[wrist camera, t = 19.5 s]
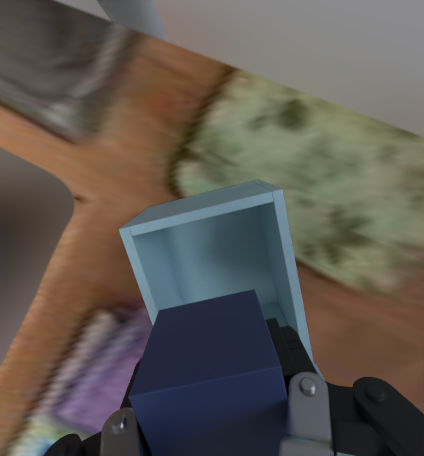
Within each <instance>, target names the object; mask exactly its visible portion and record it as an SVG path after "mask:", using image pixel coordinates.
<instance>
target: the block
mask: <svg viewBox="0 0 424 456" xmlns="http://www.w3.org/2000/svg"><path fill="white" fill-rule="evenodd" d="M128 398H129V400H130V403H131V405H132V408H133V410H134V413H135V415H136V418H137V420H138V422H139V425H140V427H141V430H142V432H143V435H144V437H145V439H146V442H147V444H148V447H149V449H150V452H151V454H152V456H279V448H280V440H281V436H282V434H285V431H286V419H287V407H288V397H287V392H286V388H285V383H284V378H283V374H282V369H281V365H280V362H279V359H278V356H277V353H276V350H275V347H274V344H273V341H272V338H271V335H270V332H269V329H268V327H267V324H266V321H265V318H264V315H263V312H262V309H261V306H260V303H259V300H258V297H257V294H256V291H255V289H252V290H248V291H243V292H239V293H234V294H230V295H225V296H221V297H216V298H212V299H207V300H203V301H198V302H194V303H189V304H185V305H180V306H176V307H171V308H167V309H162V310H159V311H158V314H157V317H156V320H155V323H154V326H153V328H152V331H151V334H150V337H149V340H148V342H147V345H146V348H145V351H144V354H143V357H142V359H141V362H140V365H139V368H138V371H137V374H136V376H135V379H134V382H133V385H132V388H131V391H130V393H129V396H128Z"/></svg>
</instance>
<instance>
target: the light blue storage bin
mask: <svg viewBox="0 0 424 456" xmlns="http://www.w3.org/2000/svg"><path fill="white" fill-rule="evenodd" d="M119 232H120V235H121V238H122V240H123V243H124V246H125V249H126V252H127V255H128V257H129V260H130V263H131V266H132V269H133V271H134V274H135V277H136V280H137V283H138V286H139V288H140V291H141V294H142V297H143V300H144V302H145V305H146V308H147V311H148V314H149V317H150V319H151V322H152V325H153V326H154V323H155V320H156V317H157V314H158V311H159V310H162V309H167V308H171V307H176V306H180V305H185V304H189V303H194V302H198V301H203V300H207V299H212V298H216V297H221V296H225V295H230V294H234V293H239V292H243V291H248V290H252V289H255V291H256V294H257V297H258V300H259V303H260V306H261V309H262V312H263V315H264V318H265V319H270V318H275V317H276V319H277V321H278V324H279V326H280V327H284V326H290V327H292V328H293V329H294V330H295V331H297V333H298V335H299V337H300V340H301V341H302V343H303V345H304V347H305V349H306V351H307V353H308V355H309V357H310V359H311V361H312V362H313V357H312V352H311V346H310V341H309V335H308V330H307V324H306V318H305V313H304V307H303V302H302V296H301V290H300V285H299V279H298V274H297V268H296V262H295V257H294V251H293V246H292V240H291V234H290V229H289V223H288V218H287V212H286V207H285V201H284V195H283V190H282V189H281V188H279V187H276V186H274V185H271V184H269V183H266V182H264V181H261V180H254V181H250V182H246V183H242V184H238V185H234V186H230V187H226V188H222V189H218V190H214V191H210V192H206V193H202V194H198V195H194V196H190V197H186V198H182V199H178V200H174V201H170V202H166V203H162V204H158V205H154V206H150V207H148V208H147V209H146V210H144V211H143V212H142V213H140V214H139V215H137V216H136V217H135V218H133V219H132V220H131V221H129V222H128V223H127V224H125V225H124V226H122V227H121V228H120V229H119Z"/></svg>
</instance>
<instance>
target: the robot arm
mask: <svg viewBox="0 0 424 456" xmlns="http://www.w3.org/2000/svg"><path fill="white" fill-rule="evenodd" d="M265 321H266V324H267V327H268V329H269V332H270V335H271V338H272V341H273V344H274V347H275V350H276V353H277V356H278V359H279V362H280V365H281V369H282V374H283V378H284V383H285V388H286V392H287V397H288V407H287V419H286V431H285V434H282V436H281V440H280V448H279V456H338V453H344V454H349V455H354V456H424V414H423V413H422V412H421V411H420V410H419V409H417V408H416V407H415V406H414V405H413V404H412V403H411V402H409V401H408V400H407V399H406V398H405V397H404V396H403V395H401V394H400V393H399V392H398V391H397V390H396V389H395V388H393V387H392V386H391V385H390V384H388V383H387V382H385V381H383V380H381V379H378V378H374V377H363V378H360V379H358V380H356V381H355V382H354V384H353V387H345V386H337V385H333V384H330V383H328V382H326V381H325V380H324V379H323V378H322V377H320V376H319V375H318V373H317V372H316V370H315V368H314V365H313V363H312V361H311V359H310V357H309V355H308V353H307V351H306V349H305V347H304V345H303V343H302V341H301V340H300V337H299V335H298V333H297V331H295V330H294V329H293V328H292V327H290V326H284V327H280V326H279V324H278V321H277V319H276V317H275V318H270V319H265ZM141 359H142V358H141ZM141 359H140V360H139V362H138V363H137V364H136V367H135V369H134V372H133V375H132V377H131V380H130V383H129V385H128V388H127V391H126V394H125V396H124V399H123V402H122V404H121V407H120V410H118V411H116V412H115V413H113V414H112V415H111V416H110V417H109V418H108V419H107V421H106V422H105V424H104V426H103V428H102V431H101V432H99V433H97V434H95V435H93V436H91V437H89V438H87V439H85V440H83V441H81V439H80V437H79V436H78V435H77V434H68V435H66V436H64V437H62V438H60V439H59V440H57V441H56V442H55V443H54V444H53V445H52V446H51V447H50V448H49V449H48V450H47V452H46V453H45V454H44V456H152V454H151V452H150V449H149V447H148V444H147V442H146V439H145V437H144V435H143V432H142V430H141V427H140V425H139V422H138V420H137V418H136V415H135V413H134V410H133V408H132V405H131V403H130V400H129V398H128V396H129V393H130V391H131V388H132V385H133V382H134V379H135V376H136V374H137V371H138V368H139V365H140V362H141Z"/></svg>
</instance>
